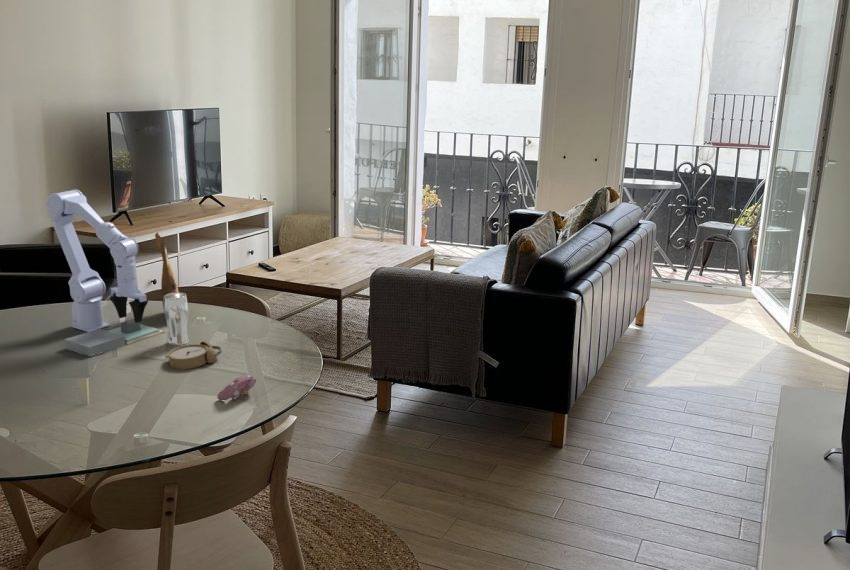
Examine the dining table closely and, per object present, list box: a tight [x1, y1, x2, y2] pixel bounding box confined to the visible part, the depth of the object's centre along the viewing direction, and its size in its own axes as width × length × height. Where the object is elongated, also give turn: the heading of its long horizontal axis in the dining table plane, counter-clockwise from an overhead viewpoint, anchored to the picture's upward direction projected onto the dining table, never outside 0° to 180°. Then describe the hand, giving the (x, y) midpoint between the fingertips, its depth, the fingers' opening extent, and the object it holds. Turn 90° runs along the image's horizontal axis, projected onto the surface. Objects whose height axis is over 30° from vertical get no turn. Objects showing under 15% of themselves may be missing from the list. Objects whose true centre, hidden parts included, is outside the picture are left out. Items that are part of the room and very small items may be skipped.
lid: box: [108, 318, 160, 342], centre depth 259 cm, size 12×12×4 cm
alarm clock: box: [166, 341, 223, 370], centre depth 237 cm, size 11×5×15 cm
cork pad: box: [125, 329, 166, 345], centre depth 260 cm, size 14×14×1 cm
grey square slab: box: [64, 328, 126, 357], centre depth 247 cm, size 12×12×3 cm
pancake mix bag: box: [154, 231, 180, 310], centre depth 273 cm, size 7×19×28 cm, turn 17°
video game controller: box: [217, 374, 257, 401], centre depth 213 cm, size 10×5×7 cm, turn 149°
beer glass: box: [163, 292, 190, 347], centre depth 251 cm, size 7×7×15 cm
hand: (130, 319), depth 258 cm, fingers open, 7 cm apart
